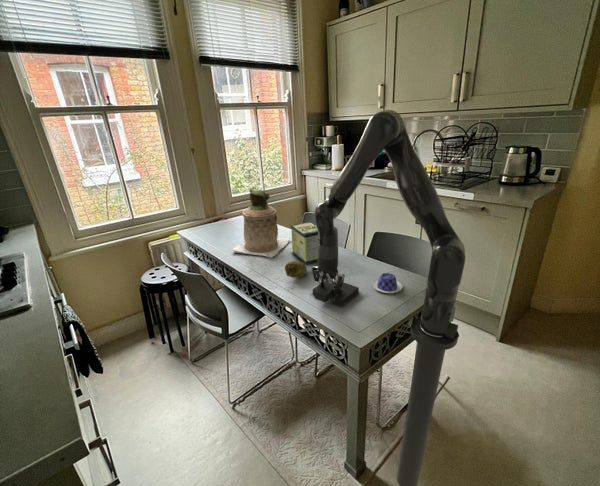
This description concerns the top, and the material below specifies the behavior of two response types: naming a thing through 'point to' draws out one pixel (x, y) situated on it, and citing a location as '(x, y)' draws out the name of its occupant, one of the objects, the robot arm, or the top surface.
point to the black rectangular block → (324, 293)
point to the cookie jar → (260, 228)
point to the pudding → (387, 283)
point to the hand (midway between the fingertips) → (327, 294)
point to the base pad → (342, 293)
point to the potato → (295, 269)
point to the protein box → (305, 242)
